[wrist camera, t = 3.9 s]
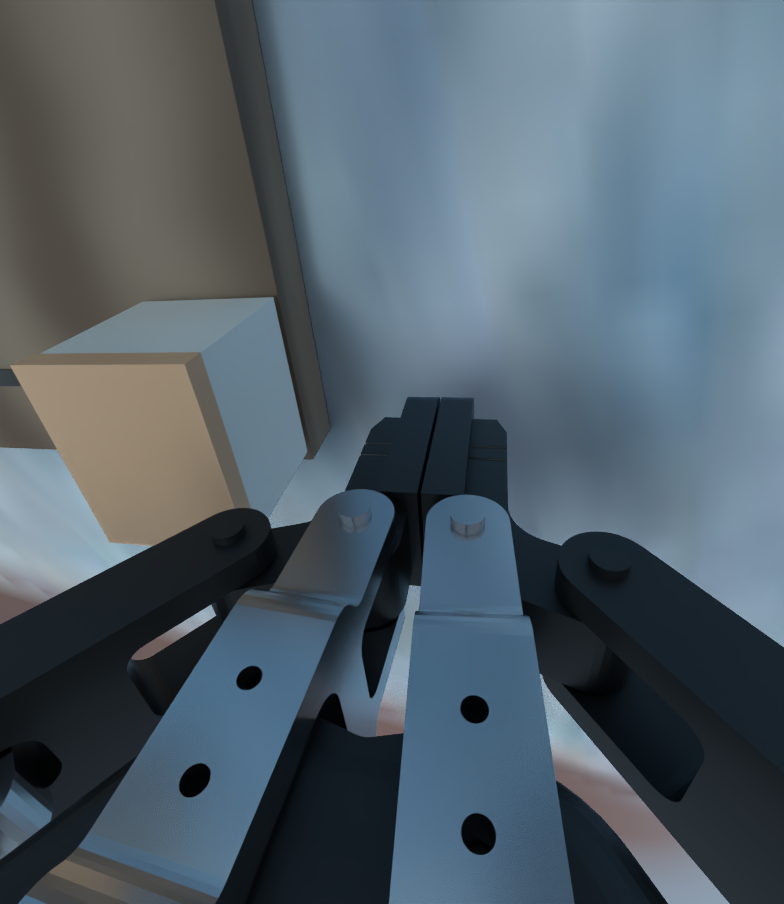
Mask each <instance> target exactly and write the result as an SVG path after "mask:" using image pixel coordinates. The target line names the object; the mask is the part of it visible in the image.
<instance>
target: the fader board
mask: <svg viewBox="0 0 784 904" xmlns="http://www.w3.org/2000/svg"><path fill="white" fill-rule="evenodd" d="M261 297H273V298H274V303H275V307H276V312H277V316H278V321H279V325H280V330H281V334H282V339H283V343H284V348H285V352H286V357H287V361H288V366H289V370H290V375H291V379H292V384H293V389H294V393H295V398H296V402H297V407H298V411H299V416H300V420H301V425H302V429H303V434H304V438H305V443H306V447H307V454H306V455H305V457H304V459H314V457H315V455H316V453H317V452H318V450H319V448H320V446H321V444H322V443H323V441H324V439H325V437H326V435H327V434H328V432H329V430H330V423H329V418H328V412H327V407H326V401H325V396H324V390H323V385H322V380H321V374H320V369H319V363H318V358H317V352H316V347H315V341H314V336H313V330H312V325H311V320H310V314H309V309H308V303H307V298H306V292H305V287H304V281H303V276H302V271H301V265H300V260H299V254H298V249H297V243H296V238H295V232H294V227H293V221H292V216H291V211H290V205H289V200H288V194H287V189H286V183H285V178H284V172H283V167H282V161H281V156H280V151H279V145H278V140H277V134H276V129H275V123H274V118H273V112H272V107H271V102H270V96H269V91H268V85H267V80H266V74H265V69H264V63H263V58H262V52H261V47H260V42H259V36H258V31H257V25H256V20H255V14H254V9H253V3H252V0H0V447H6V448H32V449H57V448H56V446H55V445H54V443H53V441H52V439H51V438H50V436H49V434H48V432H47V430H46V429H45V427H44V425H43V423H42V422H41V420H40V418H39V416H38V414H37V413H36V411H35V409H34V407H33V406H32V404H31V402H30V400H29V399H28V397H27V395H26V393H25V391H24V390H23V388H22V386H21V384H20V383H19V381H18V379H17V377H16V375H15V374H14V372H13V370H12V368H11V367H10V365H11V364H13V363H15V362H17V361H19V360H21V359H23V358H25V357H27V356H29V355H31V354H40V353H42V352H44V351H46V350H48V349H50V348H52V347H54V346H56V345H58V344H60V343H62V342H64V341H66V340H68V339H70V338H72V337H74V336H76V335H78V334H80V333H82V332H84V331H86V330H88V329H90V328H92V327H94V326H96V325H98V324H100V323H102V322H103V321H105V320H107V319H109V318H111V317H113V316H115V315H117V314H119V313H121V312H123V311H125V310H127V309H129V308H131V307H133V306H135V305H137V304H139V303H141V302H145V301H174V300H203V299H232V298H261Z"/></svg>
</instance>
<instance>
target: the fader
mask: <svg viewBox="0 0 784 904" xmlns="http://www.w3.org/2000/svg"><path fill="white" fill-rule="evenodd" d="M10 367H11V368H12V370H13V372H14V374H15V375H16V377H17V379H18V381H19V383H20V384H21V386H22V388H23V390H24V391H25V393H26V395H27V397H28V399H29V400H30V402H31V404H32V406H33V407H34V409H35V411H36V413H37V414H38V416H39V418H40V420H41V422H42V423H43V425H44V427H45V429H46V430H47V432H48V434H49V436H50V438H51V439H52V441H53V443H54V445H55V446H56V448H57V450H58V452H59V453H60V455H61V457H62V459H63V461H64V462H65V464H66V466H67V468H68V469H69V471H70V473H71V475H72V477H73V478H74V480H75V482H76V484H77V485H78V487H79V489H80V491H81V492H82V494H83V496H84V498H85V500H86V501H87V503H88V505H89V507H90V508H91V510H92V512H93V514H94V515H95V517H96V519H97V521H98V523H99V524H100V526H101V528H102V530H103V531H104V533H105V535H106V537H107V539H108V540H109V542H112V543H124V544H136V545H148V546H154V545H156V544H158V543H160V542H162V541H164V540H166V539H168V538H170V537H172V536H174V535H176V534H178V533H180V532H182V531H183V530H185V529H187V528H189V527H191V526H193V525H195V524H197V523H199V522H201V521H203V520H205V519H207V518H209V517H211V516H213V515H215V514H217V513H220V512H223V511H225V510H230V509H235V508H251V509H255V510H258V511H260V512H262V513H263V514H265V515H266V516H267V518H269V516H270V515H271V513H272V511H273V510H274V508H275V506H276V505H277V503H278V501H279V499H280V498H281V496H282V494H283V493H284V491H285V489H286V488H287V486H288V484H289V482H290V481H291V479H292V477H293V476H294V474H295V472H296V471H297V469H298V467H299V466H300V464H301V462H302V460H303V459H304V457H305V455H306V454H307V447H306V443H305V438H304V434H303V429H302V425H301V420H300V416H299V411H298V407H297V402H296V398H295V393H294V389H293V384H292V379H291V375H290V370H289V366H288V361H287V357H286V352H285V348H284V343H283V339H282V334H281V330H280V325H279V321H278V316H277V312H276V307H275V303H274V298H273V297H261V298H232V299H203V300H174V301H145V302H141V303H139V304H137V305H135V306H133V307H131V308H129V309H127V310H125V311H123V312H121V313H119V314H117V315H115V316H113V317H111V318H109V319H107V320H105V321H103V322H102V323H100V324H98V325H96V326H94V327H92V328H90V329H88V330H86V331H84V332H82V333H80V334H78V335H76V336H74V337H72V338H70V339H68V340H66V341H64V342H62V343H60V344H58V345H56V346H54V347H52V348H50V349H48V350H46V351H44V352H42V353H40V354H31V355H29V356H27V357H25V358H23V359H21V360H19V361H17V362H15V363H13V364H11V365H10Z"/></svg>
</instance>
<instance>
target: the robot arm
mask: <svg viewBox="0 0 784 904" xmlns="http://www.w3.org/2000/svg"><path fill="white" fill-rule="evenodd" d="M409 585H416V586H421V591H420V604H419V611H416V612H415V616H414V622H413V632H412V644H411V655H410V667H409V678H408V690H407V701H406V713H405V724H404V733H402V734H394V735H386V736H377V737H376V730H377V719H378V713H379V708H380V704H381V701H382V697H383V694H384V690H385V687H386V683H387V680H388V676H389V673H390V669H391V666H392V662H393V659H394V655H395V652H396V648H397V645H398V641H399V638H400V634H401V631H402V627H403V624H404V619H405V609H404V606H405V603H406V599H407V594H408V589H409ZM209 605H212V607H213V609H214V612H215V614H216V616H215V617H214V618H212V619H211V620H209V621H207V622H206V623H204V624H203V625H201V626H199V627H198V628H196V629H195V630H193V631H192V632H190V633H188V634H187V635H185V636H184V637H182V638H180V639H179V640H177V641H176V642H174V643H172V644H171V645H169V646H168V647H166V648H165V649H163V650H161V651H160V652H158V653H157V654H155V655H154V656H152V657H150V658H147V659H144V660H132V659H131V657H132V656H133V654H134V653H135V652H136V651H137V650H139V649H140V648H141V647H143V646H144V645H146V644H147V643H149V642H151V641H152V640H154V639H155V638H157V637H159V636H160V635H162V634H164V633H165V632H167V631H168V630H170V629H172V628H173V627H175V626H177V625H178V624H180V623H182V622H183V621H185V620H186V619H188V618H190V617H191V616H193V615H195V614H196V613H198V612H199V611H201V610H203V609H204V608H206V607H208V606H209ZM540 674H542V676H543V679H544V682H545V684H546V685H547V687H548V689H549V690H550V692H551V693H552V694H553V695H554V697H555V698H556V699H557V700H558V701H559V702H560V704H561V705H562V706H563V707H564V708H565V710H566V711H567V712H568V713H569V714H570V715H571V717H572V718H573V719H574V720H575V721H576V723H577V724H578V725H579V726H580V727H581V728H582V730H583V731H584V732H585V733H586V734H587V736H588V737H589V738H590V739H591V740H592V741H593V743H594V744H595V745H596V746H597V747H598V749H599V750H600V751H601V752H602V753H603V754H604V756H605V757H606V758H607V759H608V760H609V762H610V763H611V764H612V765H613V766H614V767H615V769H616V770H617V771H618V772H619V773H620V775H621V776H622V777H623V778H624V779H625V780H626V782H627V783H628V784H629V785H630V786H631V787H632V789H633V790H634V791H635V792H636V793H637V795H638V796H639V797H640V798H641V799H642V800H643V802H644V803H645V804H646V805H647V806H648V808H649V809H650V810H651V811H652V812H653V813H654V815H655V816H656V817H657V818H658V819H659V821H660V822H661V823H662V824H663V825H664V826H665V828H666V829H667V830H668V831H669V832H670V834H671V835H672V836H673V837H674V838H675V839H676V840H677V842H678V843H679V844H680V845H681V846H682V848H683V849H684V850H685V851H686V852H687V854H688V855H689V856H690V857H691V858H692V859H693V861H694V862H695V863H696V864H697V865H698V867H699V868H700V869H701V870H702V871H703V872H704V874H705V875H706V876H707V877H708V878H709V880H710V881H711V882H712V883H713V884H714V885H715V887H716V888H717V889H718V890H719V891H720V893H721V894H722V895H723V896H724V897H725V898H726V900H727V901H728V902H729V903H730V904H784V647H782V646H781V645H779V644H778V643H777V642H775V641H774V640H772V639H771V638H770V637H768V636H767V635H765V634H764V633H763V632H761V631H760V630H758V629H757V628H756V627H754V626H753V625H751V624H750V623H749V622H747V621H746V620H744V619H743V618H742V617H740V616H739V615H737V614H736V613H735V612H733V611H732V610H730V609H729V608H728V607H726V606H725V605H723V604H722V603H721V602H719V601H718V600H716V599H715V598H713V597H712V596H711V595H709V594H708V593H706V592H705V591H704V590H702V589H701V588H699V587H698V586H697V585H695V584H694V583H692V582H691V581H690V580H688V579H687V578H685V577H684V576H683V575H681V574H680V573H678V572H677V571H676V570H674V569H673V568H671V567H670V566H669V565H667V564H666V563H664V562H663V561H662V560H660V559H659V558H657V557H656V556H655V555H653V554H652V553H650V552H649V551H648V550H646V549H645V548H643V547H642V546H640V545H639V544H637V543H636V542H634V541H632V540H630V539H628V538H625V537H622V536H619V535H616V534H612V533H606V532H586V533H581V534H578V535H575V536H573V537H571V538H570V539H568V540H567V541H566V542H565V543H564V544H563V545H562V546H560V545H557V544H554V543H550V542H547V541H544V540H541V539H539V538H536V537H534V536H532V535H530V534H528V533H527V532H525V531H524V530H522V529H521V528H520V527H519V526H517V524H516V523H515V522H514V521H513V519H512V518H511V516H510V514H509V511H508V490H507V432H506V431H505V430H504V429H503V427H502V426H501V425H500V423H499V422H498V421H497V420H483V419H474V398H451V397H442V398H441V402H440V398H439V397H408V398H407V400H406V403H405V406H404V409H403V412H402V415H401V418H389V417H385V418H384V419H383V420H381V421H380V422H379V423H378V424H377V425H375V426H374V427H373V428H372V429H371V431H370V433H369V436H368V438H367V440H366V445H364V447H363V450H362V452H361V456H360V457H359V459H358V461H357V464H356V466H355V469H354V471H353V473H352V476H351V478H350V480H349V483H348V485H347V487H346V490H345V492H341V493H339V494H336V495H334V496H333V497H331V498H329V499H328V500H326V501H325V502H324V503H323V504H322V505H321V506H320V508H319V509H318V511H317V513H316V514H315V516H314V518H313V519H312V521H309V522H306V523H302V524H296V525H290V526H284V527H278V528H273V529H271V525H270V522H269V520H268V518H267V516H266V515H265V514H263V513H262V512H260V511H258V510H255V509H251V508H235V509H230V510H225V511H223V512H220V513H217V514H215V515H213V516H211V517H209V518H207V519H205V520H203V521H201V522H199V523H197V524H195V525H193V526H191V527H189V528H187V529H185V530H183V531H182V532H180V533H178V534H176V535H174V536H172V537H170V538H168V539H166V540H164V541H162V542H160V543H158V544H156V545H154V546H152V547H150V548H148V549H146V550H144V551H143V552H141V553H139V554H137V555H135V556H133V557H131V558H129V559H127V560H125V561H123V562H121V563H119V564H117V565H115V566H113V567H111V568H109V569H107V570H105V571H104V572H102V573H100V574H98V575H96V576H94V577H92V578H90V579H88V580H86V581H84V582H82V583H80V584H78V585H76V586H74V587H72V588H70V589H68V590H66V591H65V592H63V593H61V594H59V595H57V596H55V597H53V598H51V599H49V600H47V601H45V602H43V603H41V604H39V605H37V606H35V607H33V608H32V609H29V610H27V611H26V612H24V613H22V614H20V615H18V616H16V617H14V618H12V619H10V620H8V621H6V622H4V623H2V624H0V904H668V903H667V902H666V900H665V899H664V898H663V896H662V895H661V893H660V892H659V891H658V889H657V888H656V887H655V885H654V884H653V882H652V881H651V880H650V878H649V877H648V875H647V874H646V873H645V871H644V870H643V869H642V867H641V866H640V865H639V863H638V862H637V860H636V859H635V858H634V856H633V855H632V853H631V852H630V851H629V849H628V848H627V847H626V846H625V844H624V843H623V842H622V840H621V839H620V838H619V837H618V835H617V834H616V833H615V832H614V831H613V830H612V829H611V828H610V826H609V825H608V824H607V823H606V822H605V821H604V820H603V819H602V818H601V816H599V815H598V814H597V813H596V812H595V811H594V810H593V809H592V808H591V807H590V806H589V805H587V804H586V803H585V802H584V801H583V800H582V799H581V798H580V797H578V796H577V795H576V794H574V793H573V792H572V791H570V790H569V789H568V788H566V787H565V786H564V785H562V784H561V783H559V782H558V781H556V779H555V772H554V765H553V759H552V752H551V746H550V739H549V733H548V726H547V719H546V713H545V706H544V700H543V693H542V687H541V680H540Z"/></svg>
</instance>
